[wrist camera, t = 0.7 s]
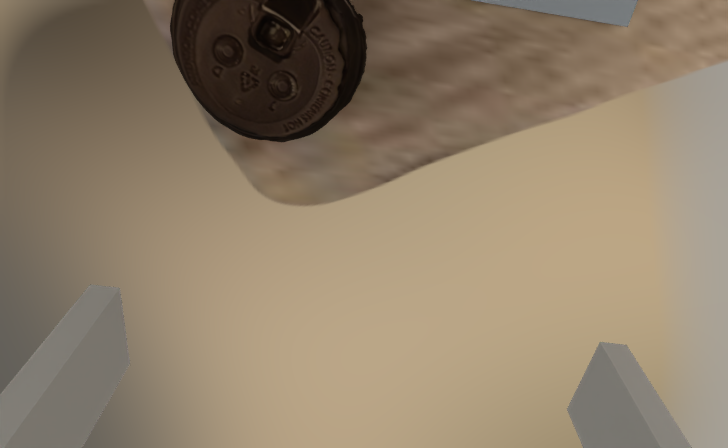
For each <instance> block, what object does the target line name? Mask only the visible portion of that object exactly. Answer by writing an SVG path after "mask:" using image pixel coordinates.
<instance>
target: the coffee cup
mask: <svg viewBox="0 0 728 448" xmlns="http://www.w3.org/2000/svg"><path fill="white" fill-rule="evenodd" d="M362 22H363V17H362V16H361V15H360V14H357V13H356V11H355V9H354V6H353V5H351V3H350V1H349V0H175V2H174V5H173V11H172V17H171V23H170V32H171V37H172V46H173V55H174V58H175V61H176V64H177V66H178V68H179V70H180V72H181V74H182V76H183V78H184V80H185V81H186V83H187V85H188V87H189V88H190V89H191V91H192V93H193V94H194V96H195V97H196V99H197V100H198V101H199V103H200V104H201V105H202V106H203V108H204V109H205V110H206V111H207V112H208V113H209V114H210V115H212V116H213V118H214V119H215V120H217V121H218V122H219V123H221V124H222V125H224V126H226V127H228V128H229V129H231V130H232V131H234V132H236V133H238V134H240V135H242V136H245V137H248V138H253V139H258V140H269V141H277V142H286V141H289V140H294V139H299V138H302V137H305V136H308V135H311V134H313V133H315V132H316V131H318V130H319V129H321V128H322V127H323V126H325V125H326V124H327V123H328V122H329V121H330V120H331V119H332V118H333V117H334V116H336V115H337V113H338V112H339V111H340V110H342V109H343V108H344V107H345V106H346V105H347V104H348V103H349V102H350V101H351V99H352V97H353V95H354V93H355V91H356V89H357V87H358V85H359V84H360V81H361V79H362V75H363V73H364V68H365V65H366V64H365V62H366V50H367V44H366V34H365V31H364V29H363V26H362Z"/></svg>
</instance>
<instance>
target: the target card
mask: <svg viewBox="0 0 728 448" xmlns="http://www.w3.org/2000/svg"><path fill="white" fill-rule="evenodd" d="M473 1H479V2H485V3H491V4H497V5H503V6H508V7H514V8H520V9H526V10H532V11H538V12H544V13H549V14H555V15H561V16H567V17H573V18H579V19H584V20H590V21H596V22H602V23H608V24H614V25H620V26H625V27H628V25H629V22H630V19H631V17H632V14H633V12H634V9H635V6H636V4H637V1H638V0H473Z"/></svg>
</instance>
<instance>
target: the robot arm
mask: <svg viewBox="0 0 728 448" xmlns="http://www.w3.org/2000/svg"><path fill="white" fill-rule="evenodd" d="M129 364H130V360H129V353H128V345H127V338H126V331H125V323H124V315H123V308H122V300H121V294H120V288H116V287H106V286H99V285H89V287H88V288H87V289H86V290H85V291H84V293H83V294H82V295H81V296H80V298H79V299H78V300H77V301H76V302H75V304H74V305H73V306H72V307H71V309H70V310H69V311H68V312H67V313H66V315H65V316H64V317H63V318H62V320H61V321H60V322H59V323H58V324H57V326H56V327H55V328H54V329H53V331H52V332H51V333H50V334H49V335H48V337H47V338H46V339H45V340H44V342H43V343H42V344H41V345H40V347H39V348H38V349H37V350H36V351H35V353H34V354H33V355H32V356H31V357H30V359H29V360H28V361H27V362H26V364H25V365H24V366H23V367H22V369H21V370H20V371H19V372H18V373H17V375H16V376H15V377H14V378H13V379H12V381H11V382H10V383H9V384H8V386H7V387H6V388H5V389H4V390H3V392H2V393H1V394H0V448H82V447H83V445H84V443H85V441H86V440H87V438H88V436H89V434H90V433H91V431H92V429H93V427H94V426H95V424H96V422H97V421H98V419H99V417H100V415H101V413H102V412H103V410H104V408H105V407H106V405H107V403H108V401H109V399H110V398H111V396H112V394H113V392H114V391H115V389H116V387H117V385H118V384H119V382H120V380H121V378H122V377H123V375H124V373H125V371H126V370H127V368H128V366H129ZM567 410H568V413H569V415H570V417H571V420H572V422H573V425H574V427H575V429H576V432H577V434H578V436H579V439H580V441H581V444H582V446H583V448H692V447H691V446H690V444H689V443H688V441H687V439H686V438H685V436H684V435H683V433H682V432H681V430H680V428H679V427H678V425H677V424H676V422H675V421H674V419H673V418H672V416H671V414H670V413H669V411H668V410H667V408H666V406H665V405H664V403H663V402H662V400H661V399H660V397H659V395H658V394H657V392H656V391H655V389H654V387H653V386H652V384H651V383H650V381H649V380H648V378H647V376H646V375H645V373H644V372H643V370H642V369H641V367H640V366H639V364H638V362H637V361H636V359H635V358H634V356H633V354H632V353H631V351H630V350H629V348H628V347H627V345H622V344H613V343H604V342H600V343H599V345H598V347H597V349H596V351H595V353H594V355H593V357H592V360H591V361H590V363H589V365H588V367H587V370H586V372H585V374H584V376H583V378H582V380H581V382H580V384H579V386H578V388H577V390H576V392H575V394H574V396H573V398H572V400H571V402H570V404H569V406H568V408H567Z"/></svg>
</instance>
